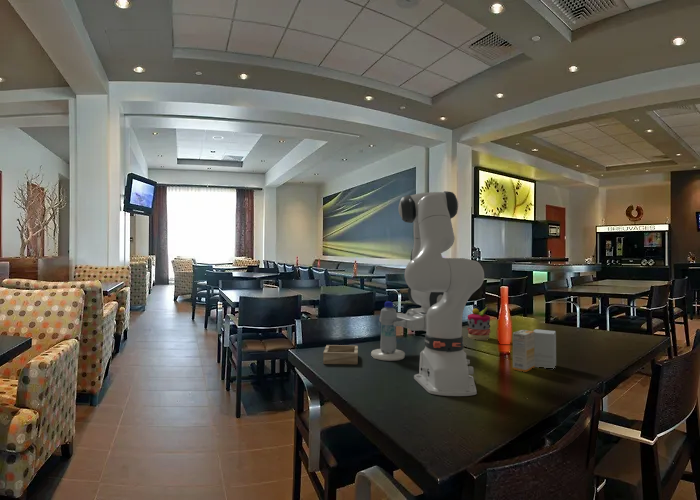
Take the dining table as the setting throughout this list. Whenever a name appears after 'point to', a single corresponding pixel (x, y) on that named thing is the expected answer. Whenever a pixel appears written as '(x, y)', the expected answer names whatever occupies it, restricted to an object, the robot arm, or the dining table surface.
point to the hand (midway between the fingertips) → (386, 321)
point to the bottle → (388, 328)
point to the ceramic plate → (387, 355)
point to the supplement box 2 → (545, 348)
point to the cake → (478, 325)
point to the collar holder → (340, 354)
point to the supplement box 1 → (523, 350)
